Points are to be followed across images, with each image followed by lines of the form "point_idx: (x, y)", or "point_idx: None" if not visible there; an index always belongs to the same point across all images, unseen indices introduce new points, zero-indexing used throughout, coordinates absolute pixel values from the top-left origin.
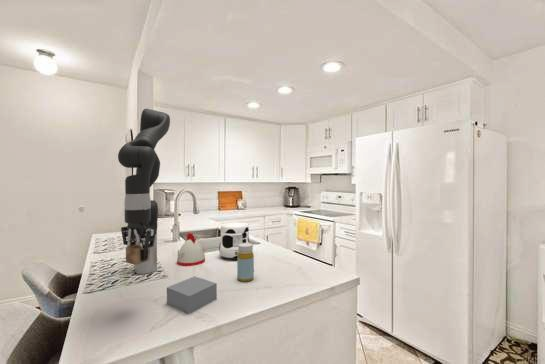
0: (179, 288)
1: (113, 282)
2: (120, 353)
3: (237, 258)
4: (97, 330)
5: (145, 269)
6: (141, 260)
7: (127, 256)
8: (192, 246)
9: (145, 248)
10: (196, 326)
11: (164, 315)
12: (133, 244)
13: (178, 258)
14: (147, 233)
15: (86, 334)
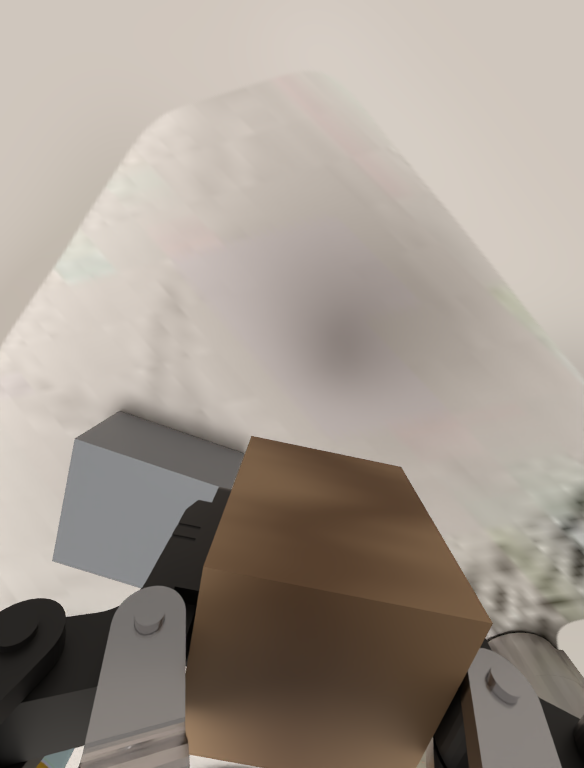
0: (167, 492)
1: (580, 556)
2: (165, 147)
3: (48, 756)
4: (358, 243)
5: (507, 657)
6: (220, 488)
7: (394, 502)
8: None
9: (45, 602)
10: (42, 347)
11: (195, 383)
12: (447, 740)
13: (425, 757)
14: None
15: (377, 211)
